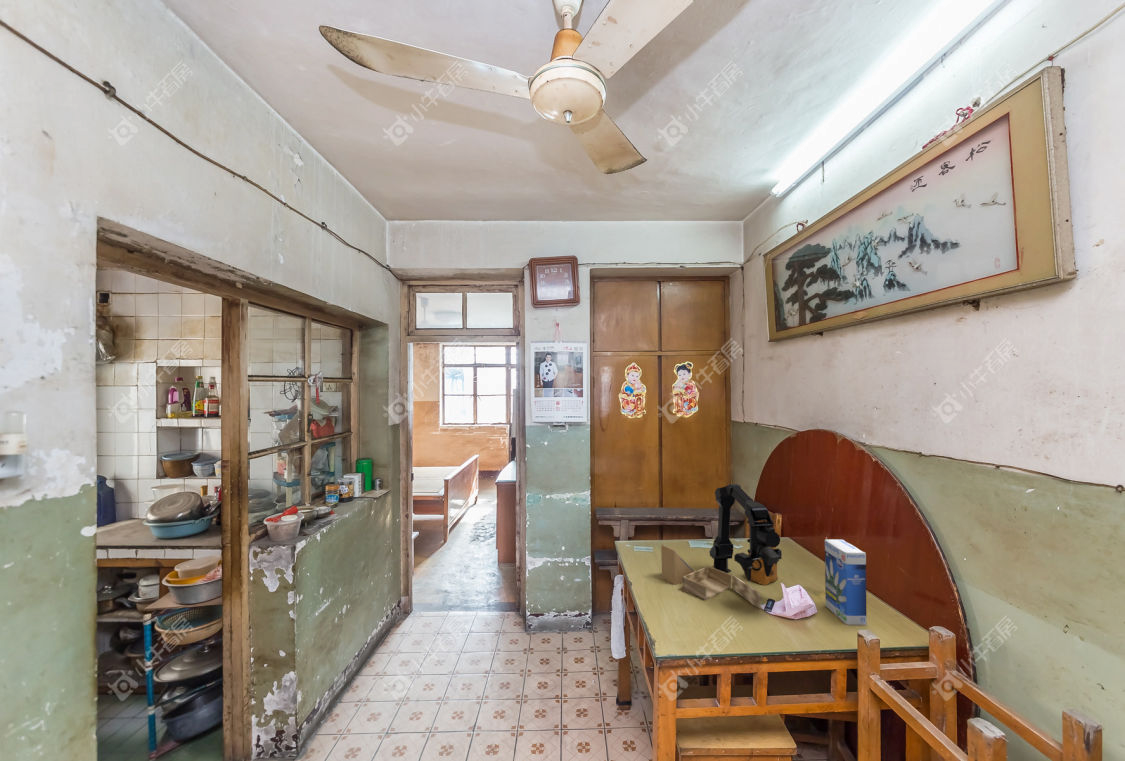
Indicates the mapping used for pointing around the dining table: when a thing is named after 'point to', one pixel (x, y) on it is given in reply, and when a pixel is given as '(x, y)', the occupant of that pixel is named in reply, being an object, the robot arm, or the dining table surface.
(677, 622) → the dining table surface
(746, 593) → the flap
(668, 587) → the dining table surface
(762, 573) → the coffee package
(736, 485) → the robot arm
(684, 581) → the carton
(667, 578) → the sandwich container
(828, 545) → the string lights box
